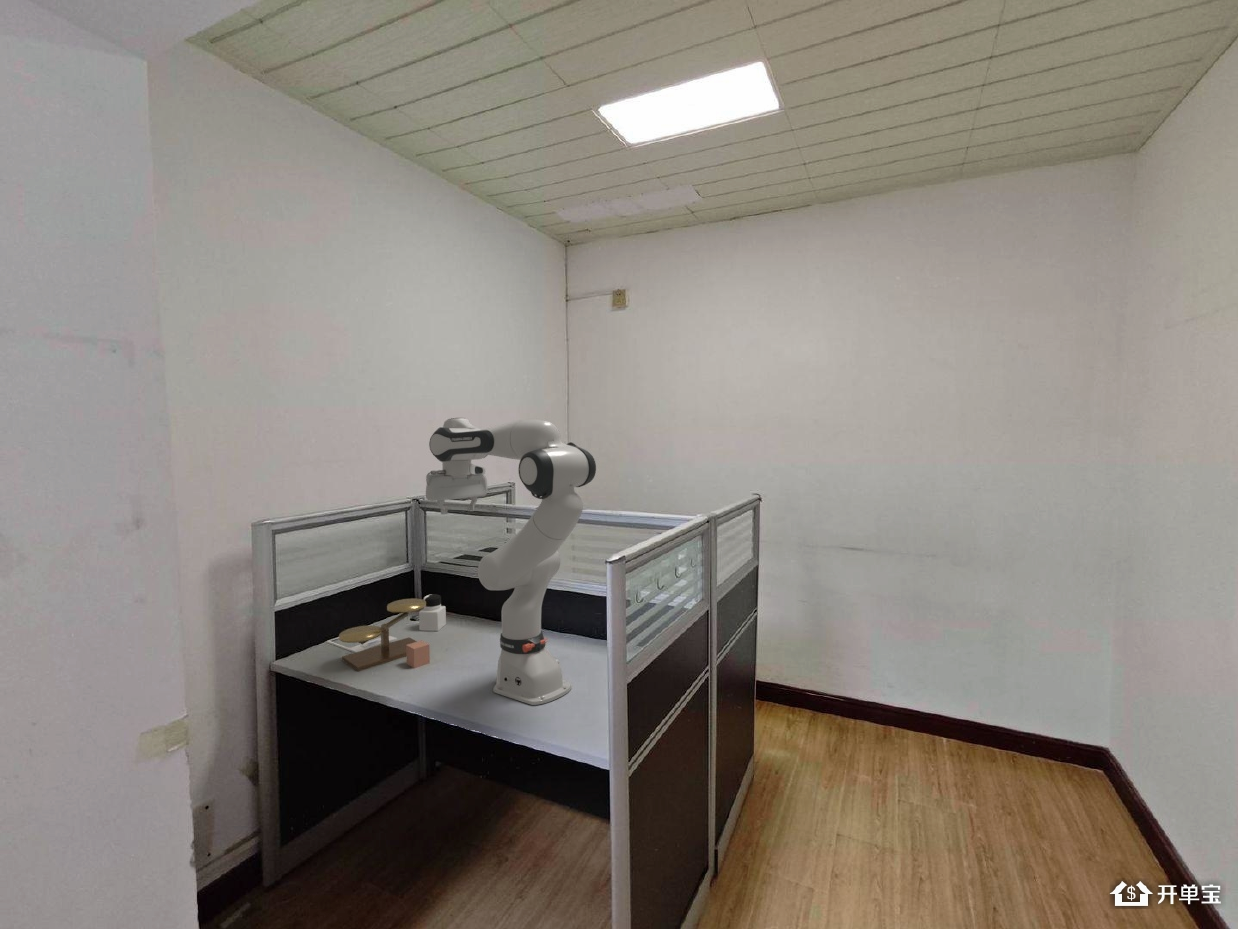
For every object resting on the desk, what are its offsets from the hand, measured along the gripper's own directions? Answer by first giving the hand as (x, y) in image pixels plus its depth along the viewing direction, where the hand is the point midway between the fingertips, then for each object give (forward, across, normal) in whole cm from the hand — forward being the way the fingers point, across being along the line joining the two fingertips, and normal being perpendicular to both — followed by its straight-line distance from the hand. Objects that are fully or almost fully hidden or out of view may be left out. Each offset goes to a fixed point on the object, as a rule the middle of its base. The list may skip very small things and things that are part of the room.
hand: (457, 512), depth 174 cm
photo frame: (+47, -17, +35) cm, 61 cm away
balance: (+46, -17, +17) cm, 52 cm away
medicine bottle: (+46, +6, +29) cm, 55 cm away
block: (+46, -13, +3) cm, 48 cm away
